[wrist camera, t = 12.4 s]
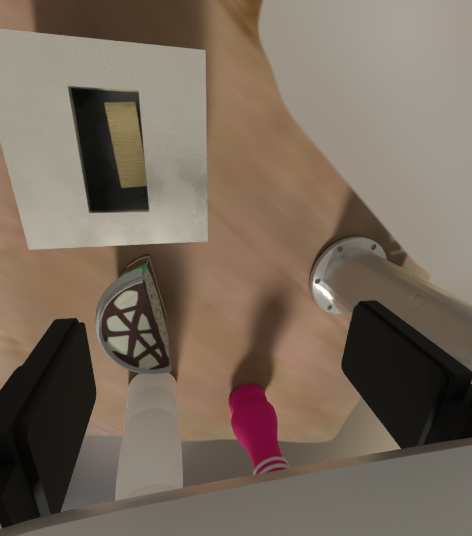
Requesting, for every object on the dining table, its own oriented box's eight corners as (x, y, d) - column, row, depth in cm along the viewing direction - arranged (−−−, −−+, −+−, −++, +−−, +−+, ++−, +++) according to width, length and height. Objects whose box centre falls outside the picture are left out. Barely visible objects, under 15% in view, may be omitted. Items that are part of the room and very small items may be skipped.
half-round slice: (93, 253, 35) (70, 292, 26) (145, 242, 36) (141, 276, 27) (124, 336, 40) (114, 391, 31) (169, 324, 41) (172, 375, 32)
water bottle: (143, 409, 46) (127, 665, 23) (119, 380, 42) (73, 644, 20) (184, 389, 46) (207, 622, 24) (163, 359, 43) (167, 595, 20)
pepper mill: (257, 414, 52) (309, 556, 34) (220, 412, 50) (254, 563, 32) (272, 383, 50) (335, 517, 32) (233, 379, 48) (278, 521, 30)
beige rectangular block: (134, 101, 25) (148, 185, 28) (138, 108, 29) (150, 179, 32) (104, 102, 24) (121, 187, 27) (112, 108, 29) (126, 181, 32)
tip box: (190, 80, 30) (205, 50, 20) (194, 214, 36) (207, 241, 26) (38, 68, 27) (-31, 25, 17) (68, 217, 32) (29, 249, 23)
